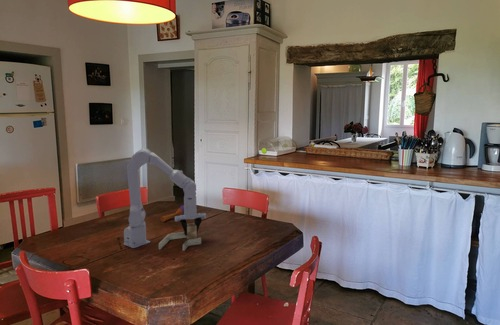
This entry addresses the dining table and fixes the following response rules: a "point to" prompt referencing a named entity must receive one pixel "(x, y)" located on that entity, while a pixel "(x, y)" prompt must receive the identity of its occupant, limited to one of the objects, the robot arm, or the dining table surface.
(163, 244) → the rail track
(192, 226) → the maple block
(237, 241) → the dining table surface
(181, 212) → the kendama
